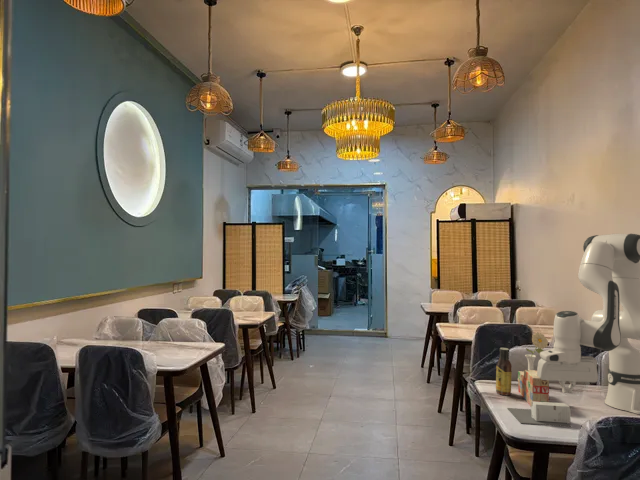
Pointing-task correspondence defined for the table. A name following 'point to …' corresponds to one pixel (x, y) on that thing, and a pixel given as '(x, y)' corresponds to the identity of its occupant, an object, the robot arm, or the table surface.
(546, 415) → the skincare box
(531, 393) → the stack of blocks
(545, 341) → the flower in vase
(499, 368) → the sauce bottle
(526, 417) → the placemat
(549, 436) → the table surface
